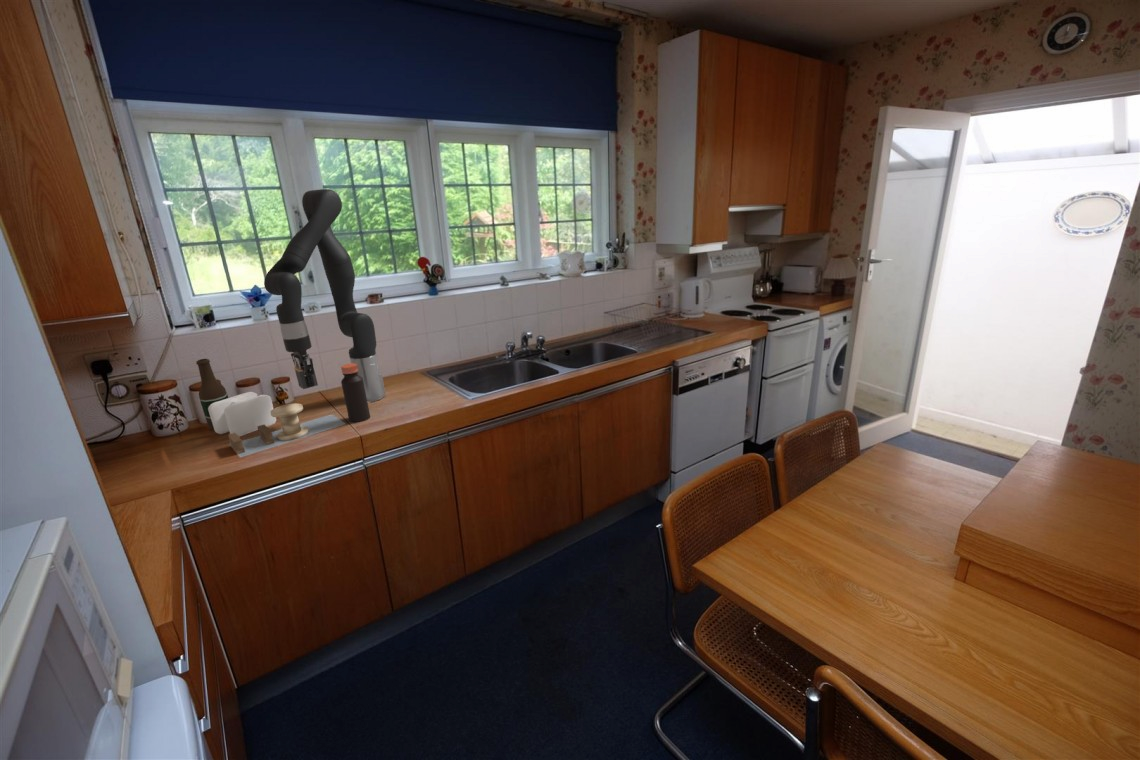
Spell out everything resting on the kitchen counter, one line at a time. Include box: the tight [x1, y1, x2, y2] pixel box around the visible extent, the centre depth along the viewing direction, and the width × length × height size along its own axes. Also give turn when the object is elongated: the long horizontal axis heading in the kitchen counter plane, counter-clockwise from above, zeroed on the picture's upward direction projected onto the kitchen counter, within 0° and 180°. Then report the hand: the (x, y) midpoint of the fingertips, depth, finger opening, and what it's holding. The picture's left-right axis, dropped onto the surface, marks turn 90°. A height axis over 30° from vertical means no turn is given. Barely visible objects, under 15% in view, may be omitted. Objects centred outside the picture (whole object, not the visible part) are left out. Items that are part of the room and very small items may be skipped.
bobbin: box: [270, 403, 309, 441], centre depth 158 cm, size 9×9×9 cm
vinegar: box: [340, 363, 371, 424], centre depth 167 cm, size 7×7×20 cm
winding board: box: [236, 414, 347, 459], centre depth 160 cm, size 31×13×1 cm, turn 134°
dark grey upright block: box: [294, 366, 319, 390], centre depth 164 cm, size 4×4×7 cm
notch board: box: [227, 425, 274, 455], centre depth 153 cm, size 10×8×4 cm
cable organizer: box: [208, 391, 277, 438], centre depth 165 cm, size 15×11×12 cm
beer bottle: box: [195, 358, 229, 431], centre depth 168 cm, size 8×8×24 cm
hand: (308, 384), depth 165 cm, fingers closed on dark grey upright block, 4 cm apart
